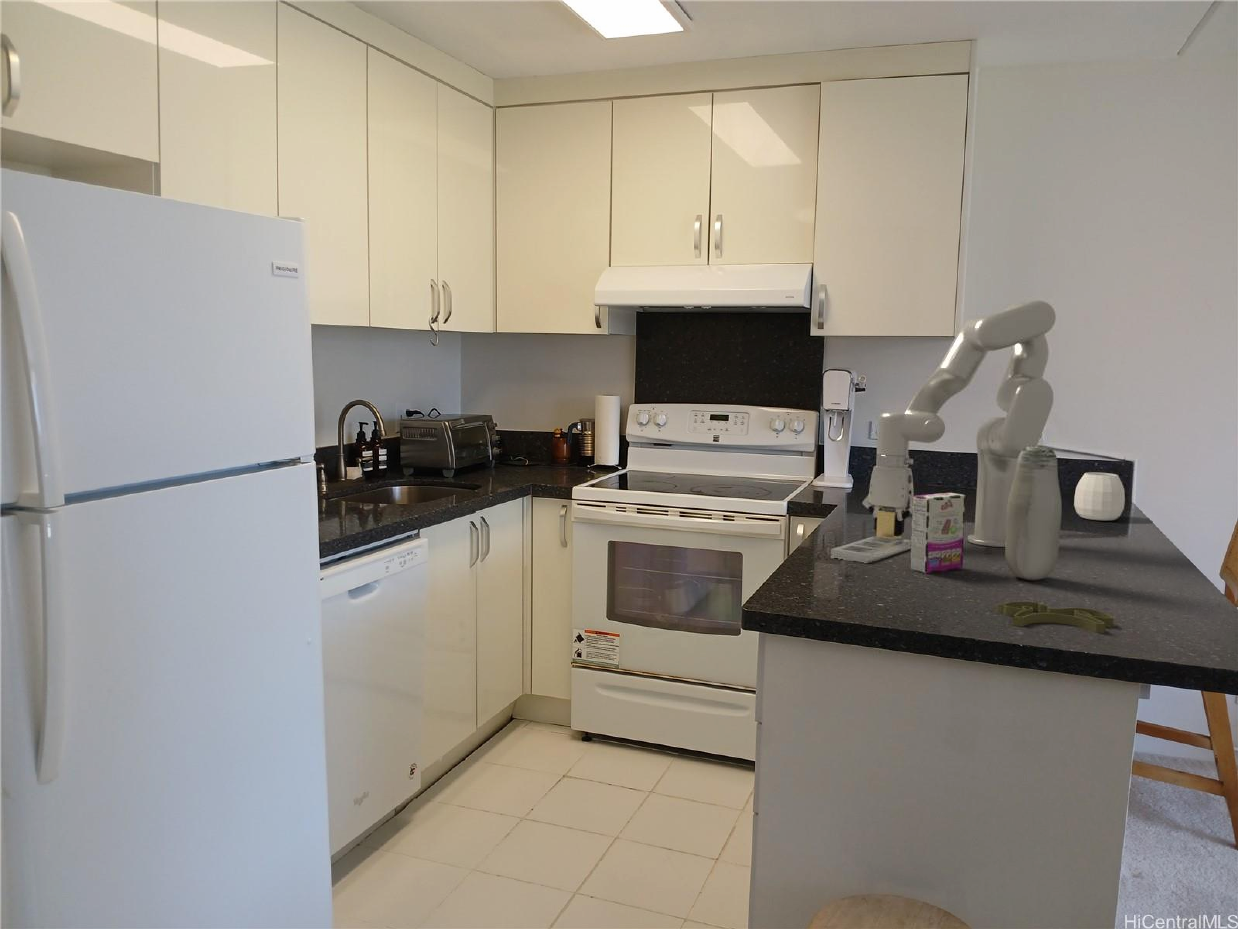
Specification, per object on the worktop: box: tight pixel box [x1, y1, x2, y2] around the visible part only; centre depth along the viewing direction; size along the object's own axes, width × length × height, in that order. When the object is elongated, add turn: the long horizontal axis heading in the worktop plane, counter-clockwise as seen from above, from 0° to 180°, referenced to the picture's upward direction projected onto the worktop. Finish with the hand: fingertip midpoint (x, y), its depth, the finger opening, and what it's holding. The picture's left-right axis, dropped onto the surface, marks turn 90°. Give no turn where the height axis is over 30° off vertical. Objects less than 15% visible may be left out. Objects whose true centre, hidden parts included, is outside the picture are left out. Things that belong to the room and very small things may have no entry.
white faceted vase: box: [1073, 471, 1126, 522], centre depth 270 cm, size 13×13×14 cm
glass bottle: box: [1004, 444, 1063, 581], centre depth 189 cm, size 10×10×28 cm
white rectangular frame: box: [830, 535, 911, 564], centre depth 215 cm, size 9×24×2 cm, turn 140°
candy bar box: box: [909, 492, 966, 575], centre depth 198 cm, size 11×5×16 cm, turn 117°
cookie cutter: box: [996, 600, 1115, 634], centre depth 159 cm, size 18×12×2 cm, turn 73°
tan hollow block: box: [875, 507, 902, 539], centre depth 229 cm, size 4×4×8 cm
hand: (888, 533), depth 229 cm, fingers closed on tan hollow block, 4 cm apart
